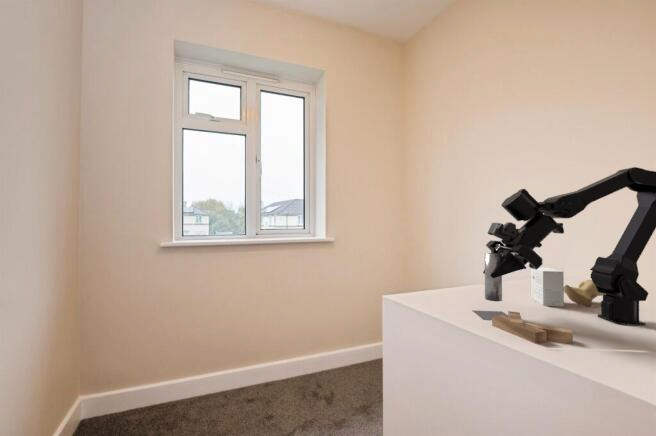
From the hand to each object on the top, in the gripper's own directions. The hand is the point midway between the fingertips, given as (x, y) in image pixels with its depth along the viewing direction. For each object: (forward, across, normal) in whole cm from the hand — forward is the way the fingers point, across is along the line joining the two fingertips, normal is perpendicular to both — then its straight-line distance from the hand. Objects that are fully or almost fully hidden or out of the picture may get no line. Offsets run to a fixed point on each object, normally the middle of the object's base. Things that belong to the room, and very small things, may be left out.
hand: (487, 275), depth 81 cm
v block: (+5, +12, +10) cm, 16 cm away
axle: (+4, 0, +5) cm, 6 cm away
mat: (+7, 0, +8) cm, 11 cm away
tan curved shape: (-17, -17, +34) cm, 42 cm away
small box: (-9, -16, +25) cm, 31 cm away
